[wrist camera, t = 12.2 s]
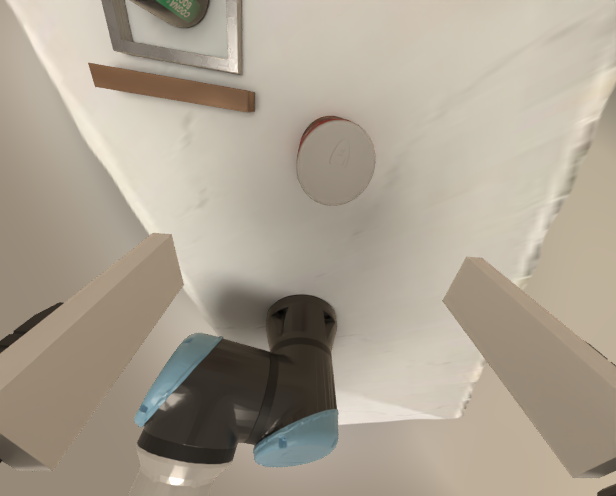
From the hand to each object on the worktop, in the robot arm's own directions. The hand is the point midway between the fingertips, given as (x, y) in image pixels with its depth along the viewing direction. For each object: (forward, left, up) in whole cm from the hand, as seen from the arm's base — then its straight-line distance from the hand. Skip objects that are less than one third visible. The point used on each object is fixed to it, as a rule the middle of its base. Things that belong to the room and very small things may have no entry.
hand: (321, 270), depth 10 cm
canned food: (+2, -2, -25) cm, 25 cm away
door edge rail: (+6, +16, -25) cm, 30 cm away
